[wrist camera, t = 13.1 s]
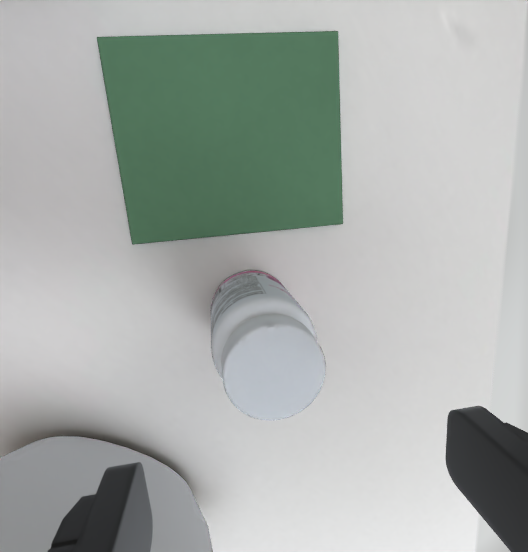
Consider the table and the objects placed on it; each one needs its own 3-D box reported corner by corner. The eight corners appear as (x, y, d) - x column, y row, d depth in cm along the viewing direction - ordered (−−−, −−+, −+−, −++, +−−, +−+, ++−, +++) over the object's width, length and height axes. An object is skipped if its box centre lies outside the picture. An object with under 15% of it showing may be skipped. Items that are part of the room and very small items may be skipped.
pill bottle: (302, 316, 22) (357, 388, 14) (238, 357, 22) (255, 453, 14) (263, 253, 21) (298, 291, 12) (195, 296, 21) (185, 362, 12)
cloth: (335, 34, 18) (338, 30, 18) (340, 223, 21) (343, 224, 21) (99, 40, 17) (96, 36, 17) (133, 243, 19) (132, 244, 19)
